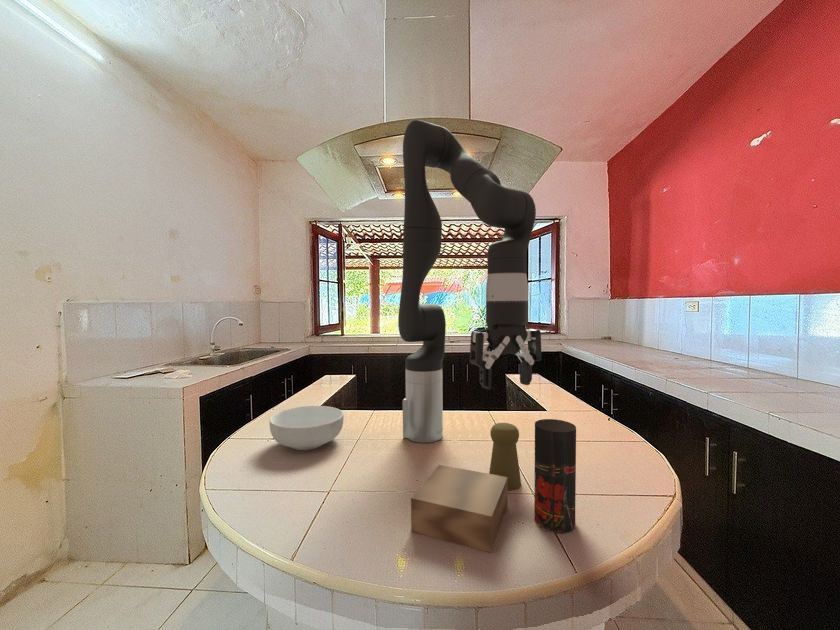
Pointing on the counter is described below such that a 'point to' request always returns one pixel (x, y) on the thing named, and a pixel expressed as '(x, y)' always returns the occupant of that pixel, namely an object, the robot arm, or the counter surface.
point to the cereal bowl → (306, 426)
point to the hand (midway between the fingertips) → (506, 386)
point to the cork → (505, 454)
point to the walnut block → (461, 507)
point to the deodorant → (555, 475)
